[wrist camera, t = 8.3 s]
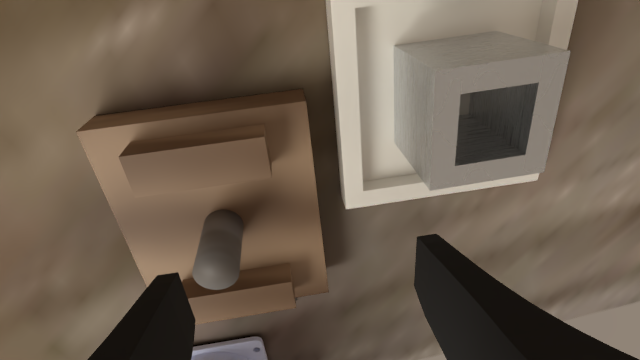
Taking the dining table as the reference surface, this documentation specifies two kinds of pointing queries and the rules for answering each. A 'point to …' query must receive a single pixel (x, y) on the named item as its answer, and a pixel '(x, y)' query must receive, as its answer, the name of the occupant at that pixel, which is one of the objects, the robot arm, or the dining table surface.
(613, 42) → the dining table surface
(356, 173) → the dish
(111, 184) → the vise block
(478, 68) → the sleeve
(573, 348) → the robot arm
